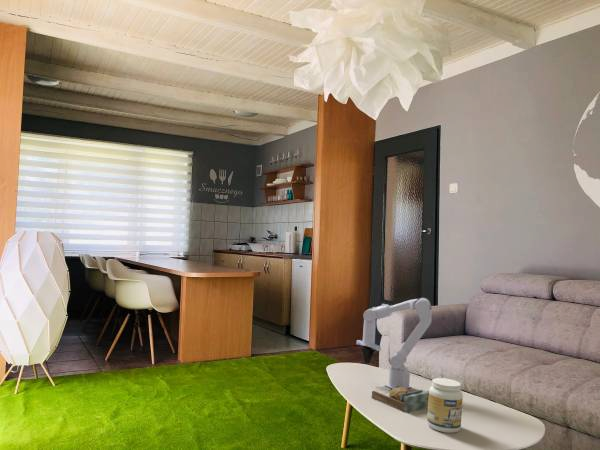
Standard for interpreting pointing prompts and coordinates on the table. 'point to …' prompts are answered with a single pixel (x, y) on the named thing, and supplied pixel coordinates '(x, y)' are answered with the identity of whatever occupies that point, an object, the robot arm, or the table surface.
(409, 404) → the brown wooden tray
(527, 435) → the table surface
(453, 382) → the supplement tub
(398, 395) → the bread roll
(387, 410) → the table surface
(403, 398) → the pusher plate
